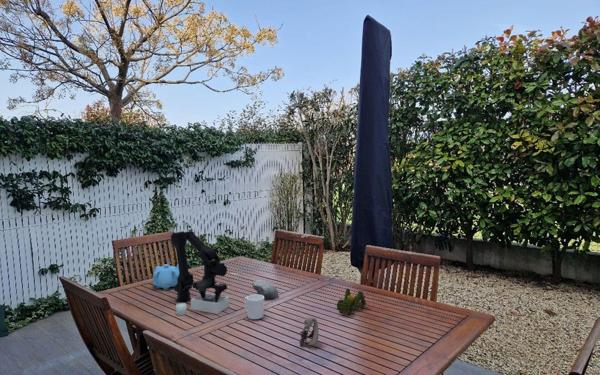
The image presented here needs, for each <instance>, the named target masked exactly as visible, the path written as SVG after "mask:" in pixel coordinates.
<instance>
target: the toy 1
mask: <svg viewBox="0 0 600 375" xmlns="http://www.w3.org/2000/svg"><path fill="white" fill-rule="evenodd" d="M318 323H319V322H318V319H317V318H315V317H314V314H313V315H312V318H311V317H310V316H306V317H305V318H304V320H303V324H304V328H303V330H302V331H300V332H299V334H300V341H299V344H300V345H299V347H303V345H304V344H306V343H307V341H308V339H311V340H310V342H309V343H308V344H307V345H308V346H311V347H312V348H315V346H316V345H317V344H318V342H319V341H318V340H319V324H318ZM312 325H313V328H312V331H311V333H309V331H310V329H311V326H312Z"/></svg>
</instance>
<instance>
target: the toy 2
mask: <svg viewBox="0 0 600 375" xmlns="http://www.w3.org/2000/svg"><path fill="white" fill-rule="evenodd" d="M365 298H366V295H364V293H363V291H361V290H358V292H357V295H352V293H351V290H350V288H346V289H345V293H344V297H343V299H341V298H340V299H338V302H337V303H336V310H337V311H338V313H340V312H341V314H342V313H346V312H347V311H348V313H347V314H348V315H349V316H352V313H353V311H354V307H356V308H358V305H359V303H360V306H359V307H360V309H361V308H364V309H365V308H366V304H367V302H366V299H365Z"/></svg>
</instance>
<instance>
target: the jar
mask: <svg viewBox="0 0 600 375" xmlns="http://www.w3.org/2000/svg"><path fill="white" fill-rule="evenodd" d="M175 308H176V309H175V311H176V312H175V313H176V316H178V317H180V316H181V317H182V316H185V315H186V314H187V303H186V302H185V303H182V302H178V303H176V305H175Z"/></svg>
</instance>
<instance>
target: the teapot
mask: <svg viewBox="0 0 600 375" xmlns="http://www.w3.org/2000/svg"><path fill="white" fill-rule="evenodd" d="M178 276H179V266H178V263H177V265H176V266H174V265H169V264H167V263H166V264H163V266H158V265H155V266H154V271H153V275H152V283H153V285H154V286H155V288H156V289H160V288H163V289H162V290H163V291H167V290H169V288H170V287H172V288H174V287H175V286H176V284H177V279H178Z"/></svg>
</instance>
